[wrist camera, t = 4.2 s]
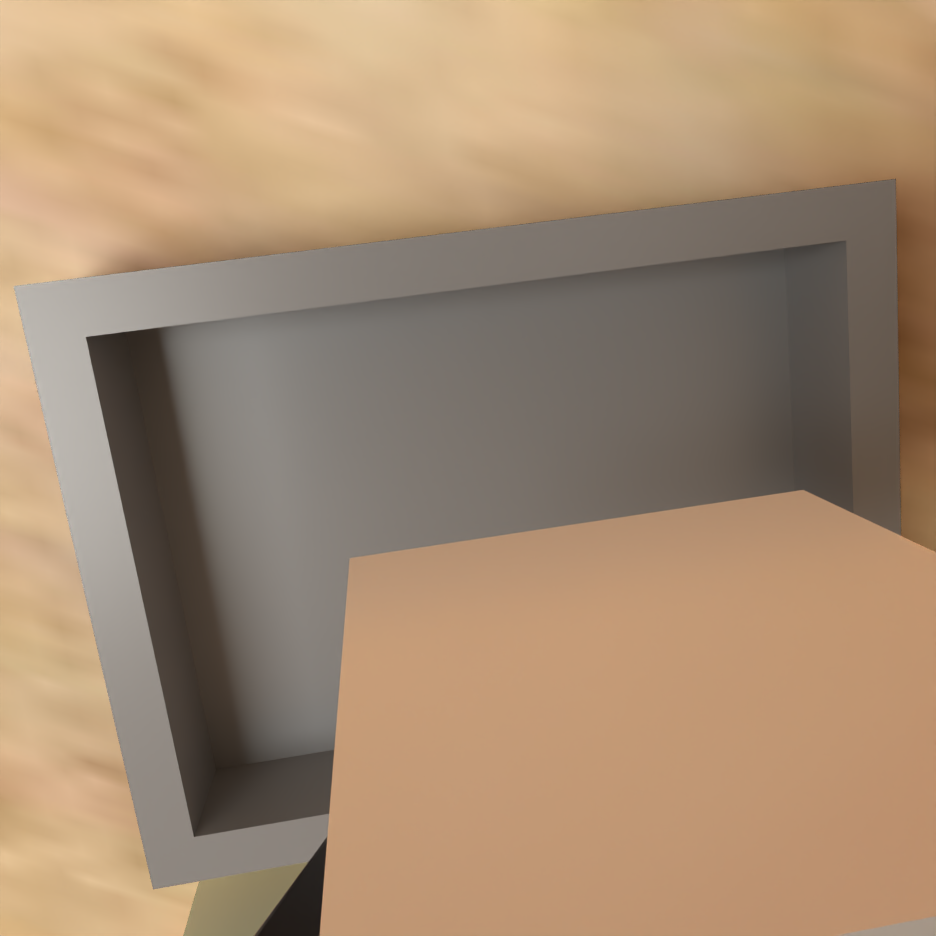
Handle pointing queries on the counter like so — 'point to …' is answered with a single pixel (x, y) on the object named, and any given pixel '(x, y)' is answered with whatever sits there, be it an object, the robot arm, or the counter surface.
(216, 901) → the bin
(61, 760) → the counter surface
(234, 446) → the bin
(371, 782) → the stone block
